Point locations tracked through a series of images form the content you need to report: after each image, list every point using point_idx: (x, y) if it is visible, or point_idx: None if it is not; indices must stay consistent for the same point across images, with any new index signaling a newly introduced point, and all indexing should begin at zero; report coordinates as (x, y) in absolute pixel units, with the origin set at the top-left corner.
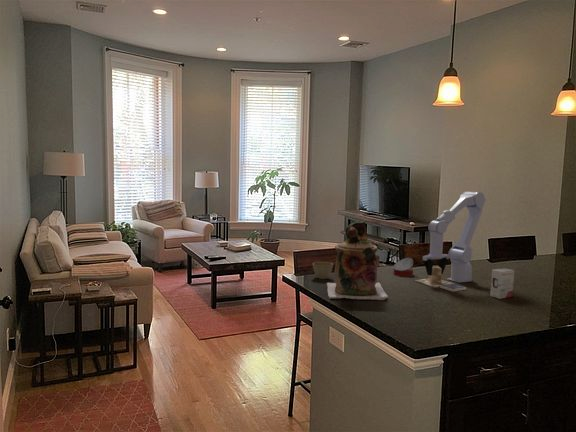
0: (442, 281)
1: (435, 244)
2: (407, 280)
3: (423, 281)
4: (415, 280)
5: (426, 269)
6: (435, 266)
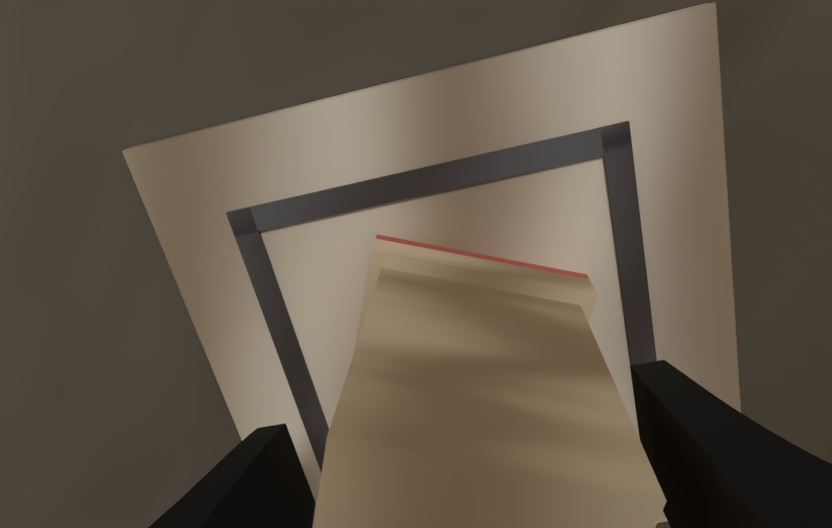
0: (629, 354)
1: None
2: (10, 28)
3: (255, 288)
4: (131, 172)
5: (177, 516)
6: (562, 482)
